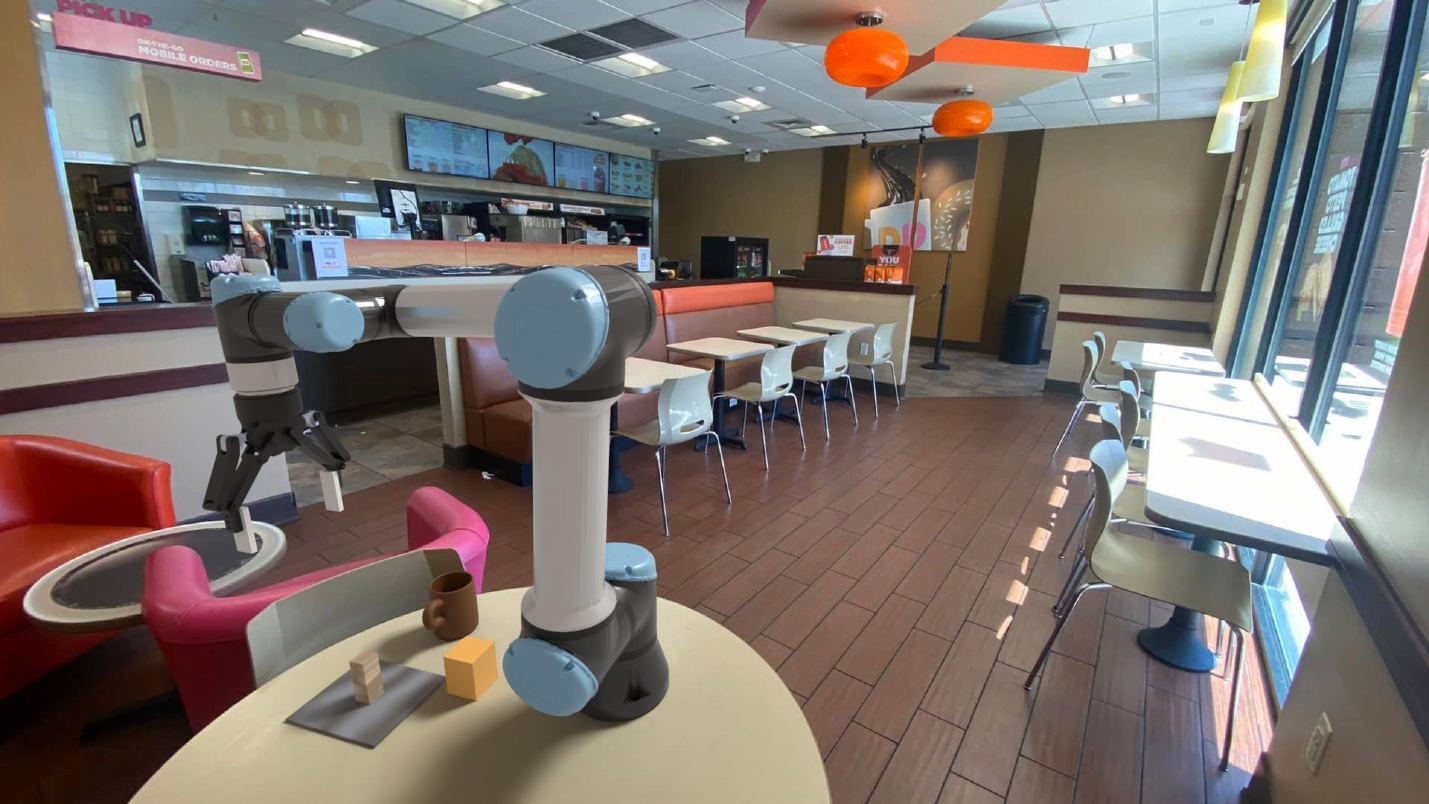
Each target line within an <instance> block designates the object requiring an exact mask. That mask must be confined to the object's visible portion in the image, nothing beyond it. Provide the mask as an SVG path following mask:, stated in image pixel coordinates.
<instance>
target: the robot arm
mask: <svg viewBox="0 0 1429 804" xmlns="http://www.w3.org/2000/svg"><path fill="white" fill-rule="evenodd" d="M209 288H210V294H211V299H212V300H211V301H212V304H211V309H212V310H211V311H213V315H214V320H215V324H216V327H217V331H218V333H217V334H218V337H219V341H220V346H221V348H222V349H221V350H222V354H223V356H224V361H225V366H226V371H227V375H228V379H229V380H228V381H229V383H230V384H229V385H230V389H231V390H232V391H234V392H236V393H234V395H233V396H232V400H233V405H234V409H235V414H236V417H237V420H238V421H239V423H240V425H241V430H240V433H234V434H230V435H229V434H219V435H217V436H216V439H215V443H216V444H215V445H216V451H217V452H216V456H215V459H214V463H213V466H212V470H211V473H210V477H209V480H208V484H207V486H206V487H207V488H206V491H205V493H204V498H203V501H202V505H201V508H202V509H203V510H205V511H210V512H215V513H222V518H223V521H224V526H225V529H226V531H227V532H228V533H232V534H233V536H234V542H235V545H236V550H237V552H243V553H247V554H255V553H256V552H258V547H257V543H256V542H257V541H256V537H255V532H254V528H253V524H252V520H251V515H250V514H251V513H250V510H249V507H248V506H243V503H244V502H245V500H246V498H247V496H248V494H249V492H250V491H251V488H252V486H253V484H254V483H255V481H256V479H257V477H258V475H259V473H260V471H261V469H262V467H263V466H264V465H265V464H266V463H267V462H268V461H269V460H270V458H271V457H272V458H273V457H277V456H279V455H281V454H283V453H285V452H291V451H294V450H296V449H297V450H298V451H300V452H301V453H303V454H304V455H305V456H307V457H308V458H310V459H311V460H313V461H314V462H315V463H316V464H319V465H320V466H321V467H322V468H325V469H322V470H319V471H318V472H319V477H320V478H319V479H320V483H321V488H322V489H321V490H322V494H323V500H324V504H325V509H326V511H331V512H332V511H333V512H339V513H340V512H342V511H344V510H345V509H344V504H343V499H342V492H341V491H342V490H341V488H343V485H344V483H343V478H342V471H343V470H345V469H346V468H347V464H346V463H348V462H350V461H351V459H352V456H351V454H350V453H349V452H348V450H347V449H346V448H345V447H344V444H342V442H341V441H340V440H339V438H338V437H337V435H336V434H335V433H334V432H333V430H332V428H331V427H330V426H329V425H328V423H327V421H326V417H325V413H324V412H323V411H320V410H312V409H310V410H309V409H306V410H305V411H304V404H303V398H302V394H301V389H300V388H299V387H298V386H296V385H297V384H298V383H299V376H298V371H297V366H296V360H295V357H294V351H295V350H296V351H307V352H315V353H318V354H322V353H323V354H326V353H330V352H331V353H332V352H333V353H335V352H344V351H347V350H349V349H351V348H352V347H353V346H354V345H355V344H360V343H366V342H371V341H374V340H375V341H376V340H383V339H389V338H421V337H423V338H425V337H426V338H427V337H429V338H481V339H482V338H486V339H487V338H492V339H494V342H495V346H496V350H497V353H498V355H499V358H500V360H501V361H505V362H506V364H507V366H506V369H507V370H508V372H509V373H510V374H511V375H512V376H513V377H515V379H517V392H518V394H519V395H520V396H521V397H523V399H525V400H526V402H528V403H529V404H530V405H531V408H532V416H531V417H532V498H533V499H532V502H533V503H532V504H533V505H532V511H533V512H532V517H533V518H532V522H533V526H532V527H533V529H532V530H533V531H532V532H533V534H532V535H533V585H531V587H528V589H527V590H526V592H524V594H523V597H522V599H521V603H520V626H521V627H520V632H519V635H518V637H517V638H515V639H514V640H512V641H511V642H510V643H509V644H508V648H507V649H505V652H504V654H503V657H502V672H503V674H504V677H505V679H506V682H507V684H508V686H509V687H510V688H511V690H512V692H513V693H514V694H516V695H517V697H519V698H520V700H522V701H523V703H525V704H527V706H529V707H530V708H532V709H533V710H536V711H538V712H541V713H543V714H546V715H549V716H552V717H553V716H554V717H568V716H571V715H573V714H574V713H578V712H580V711H581V712H582V713H584V714H585V715H587V716H590V717H591V718H594V719H598V720H601V721H609V722H618V721H627V720H631V719H635V718H638V717H640V716H643V715H645V714H646V713H648V712H650V711H651V710H652V709H654V708H656V707H657V706H658V705H659V704H660V703H661V702H662V701H663V699H664V698H665V696H666V694H667V693H668V690H669V685H670V668H669V667H670V666H669V663H668V661H667V658H666V656H665V653H664V650H663V648H662V646H661V643H660V640H659V638H658V610H657V609H658V601H657V600H658V599H657V596H658V595H657V593H658V591H657V590H658V589H657V577H658V572H657V568H656V567H657V566H656V560H655V557H654V555H653V554H652V553H651V552H650V551H649V550H648V549H646V547H645V548H644V547H643V546H640V545H637V544H634V543H628V542H607V521H608V520H607V519H608V494H609V493H608V491H609V465H610V464H609V461H610V458H609V457H610V433H611V432H610V429H611V425H610V424H611V407H612V406H613V405H614V404H615V403H616V402H618V400H620V398H621V397H623V396H624V393H625V384H626V383H625V380H626V363H627V362H626V360H627V359H628V358H631V357H633V356H634V355H635V356H636V354H638V353H639V352H640V351H642V350H643V349H644V348H645V347H646V346H647V344H649V342H650V341H651V339H652V337H653V335H654V333H655V332H656V328H657V324H658V315H659V311H658V310H659V309H658V304H657V300H656V298H655V294H654V292H653V290H652V289H651V287H650V286H649V284H648V283H647V282H646V281H645V280H644V279H643V278H642V276H640V275H639V274H637V273H636V272H634V271H633V270H631V269H629V268H626V267H623V266H621V265H614V264H613V265H612V264H599V265H582V266H569V265H566V266H555V265H554V266H552V267H549V268H545V269H542V270H537V271H534V272H530V273H528V274H526V275H524V276H523V277H521V278H519V279H518V280H516V281H515V282H491V283H490V282H489V283H487V282H486V283H458V284H457V283H455V284H452V283H451V284H449V283H448V284H415V285H414V284H404V283H403V284H401V283H400V284H388V285H381V286H371V287H370V286H369V287H360V288H357V287H355V288H345V289H344V288H343V289H340V288H339V289H329V290H328V289H327V290H316V291H284V289H283V288H282V285H281V283H280V280H279V278H278V277H276V276H275V275H272V274H271V275H269V274H246V275H245V274H242V275H241V274H240V275H221V276H216V277H214V278H212V280H210V283H209ZM303 411H304V413H303V414H302V412H303ZM306 427H308V429H309V430H310V431H311V433H312V434H313V435H314V437H315V438H316V439H317V440H318V442H319V443H320V445H322V447H323V448H324V449H325V450H324V449H323V448H321V447H320V446H319V445H317V444H316V443H314V441H313V440H312V439H311V438H310V437H308V436H307V435H306V434H304V431H305V428H306ZM243 444H244V445H246V446H245V448H244V445H243ZM243 449H244V450H243ZM241 450H243V452H242V454H241ZM256 453H257V454H256ZM240 458H241V461H240V463H239V460H240ZM238 464H239V465H238Z"/></svg>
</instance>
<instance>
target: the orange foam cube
mask: <svg viewBox="0 0 1429 804" xmlns="http://www.w3.org/2000/svg"><path fill="white" fill-rule="evenodd" d="M442 659H443V665H444V667H443V668H444V673H445V674H444V675H445V676H446V680H445V683H446V688H447V694H449V695H453V696H457V697H461V698H464V699H468V700H472V701H478V700H479V699H480V698H481V696H483V695H484V693H486V691H488V690H489V688H490V687H491V686H492V685H493V684H494V683H495V681H496V680H498V678H499V675H498V664H497V663H498V662H497V654H496V645H495V641H491V640H486V639H482V638H479V637H474V636H470V635H466V636H464V637H462V638H461V640H460V641H459V642H458V643H456V645H454V646H453V647H452V648H451V649H450V650H449V651H448V652H447V653H446V654H445V655H444V656H443V658H442Z"/></svg>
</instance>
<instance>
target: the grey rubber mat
mask: <svg viewBox="0 0 1429 804" xmlns="http://www.w3.org/2000/svg"><path fill="white" fill-rule="evenodd" d="M348 664H349V669H348V670H347V671H346V672H344V673H343V674H342V675H341V676H339V677H338V678H336V680H334V681H333V682H331V683H329V685H328V686H326V687H325V688H324V689H322V690H321V691H320V692H319V693H317V694H315V696H313V697H312V698H311V699H309V700H308V701H307V702H306V703H304V704H303V705H301V706H300V707H299V708H298V709H296V710H295V711H294V712H293V713H291V714H290V715H288V717H286V718H285V721H286V722H287V723H291V724H295V725H298V726H301V727H305V728H308V729H311V730H314V731H317V732H319V733H324V734H327V735H331V736H334V737H338V738H340V739H344V740H347V741H349V742H354V743H357V744H360V745H364V746H366V747H369V748H373V749H375V748H376V747H377V746H379V745H380V743H382V741H384V739H386V738H387V737H388V736H389V735H390V734H392V732H393V731H394V730H396V728H397V727H398V726H399V725H401V724H402V722H404V721H405V720H406V718H408V717H409V716H410V715H411V714H412V713H414V711H415V710H416V709H417V708H418V707H419V706H421V704H422V703H423V702H424V701H425V700H427V698H429V697H430V696H431V694H433V693H434V692H435V691H436V690H437V689H438V688H439V687H440V686H441V685H442V684H443V683H444V682H446V675H442V674H440V673H439V674H438V673H434V672H430V671H428V670H427V671H426V670H423V669H419V668H415V667H410V666H407V665H403V664H399V663H395V662H391V661H387V660H382V659H379V655H378V653H377V652H375V651H370V650H366V649H363V650H362V651H360V652H358V654H356V655H355V656H354V657H352V658H351V659H349V660H348Z"/></svg>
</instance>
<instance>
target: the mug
mask: <svg viewBox="0 0 1429 804" xmlns="http://www.w3.org/2000/svg"><path fill="white" fill-rule="evenodd" d="M428 600H429V602H428V603H427V604H426V606H425V607H424V608H423V611H422V616H421V622H422V625H423V627H424V628H425V629H426V630H429V631H433V633H434V635H435V637H438V638H439V639H441V640H448V641H449V640H451V641H452V640H458V639H463V638H465V637H466V636H469V635H470V634H471V633H473V632H474V631H475V630H476V629H477V627H478V625H479V622H480V621H479V620H480V616H479V615H480V614H479V606H478V605H479V604H478V595H477V588H476V581H475V577H474V575H473V574H472V573H471V572H468V571H464V570H455V571H449V572H445V573H442V574H440V575H438V576H437V577H435V578H434V579H432V580H431V581H430V583H429V585H428Z"/></svg>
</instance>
